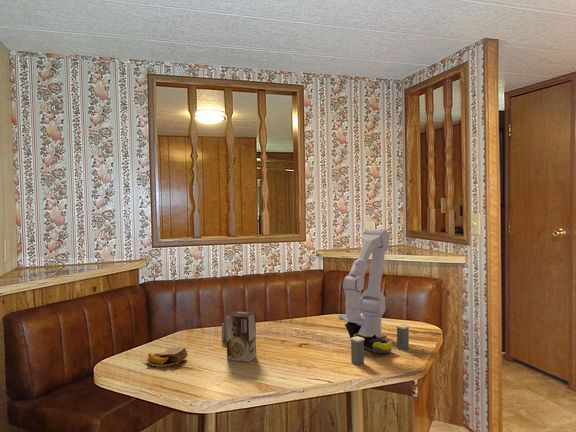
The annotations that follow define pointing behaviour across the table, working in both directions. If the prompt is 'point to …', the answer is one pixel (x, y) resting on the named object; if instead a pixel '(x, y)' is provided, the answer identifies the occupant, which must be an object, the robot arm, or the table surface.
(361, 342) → the posts
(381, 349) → the black yellow sneaker
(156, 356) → the toy sandwich meal
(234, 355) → the coffee box
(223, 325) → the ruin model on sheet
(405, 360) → the table surface
